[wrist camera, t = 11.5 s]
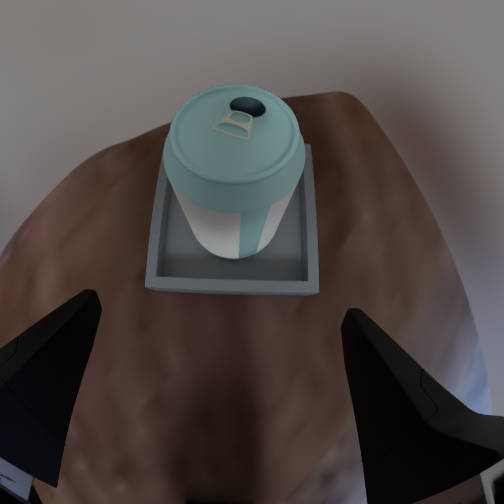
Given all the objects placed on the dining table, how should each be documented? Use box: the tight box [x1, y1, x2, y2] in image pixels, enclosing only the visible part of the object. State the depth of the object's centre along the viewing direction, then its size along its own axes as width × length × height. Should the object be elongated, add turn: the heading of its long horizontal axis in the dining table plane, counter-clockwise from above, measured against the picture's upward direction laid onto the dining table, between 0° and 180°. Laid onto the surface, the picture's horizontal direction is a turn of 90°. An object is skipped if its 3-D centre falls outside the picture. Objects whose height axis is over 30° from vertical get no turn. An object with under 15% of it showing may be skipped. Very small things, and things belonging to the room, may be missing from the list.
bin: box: [145, 140, 319, 296], centre depth 23 cm, size 13×13×3 cm
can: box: [163, 84, 305, 259], centre depth 17 cm, size 7×7×12 cm
